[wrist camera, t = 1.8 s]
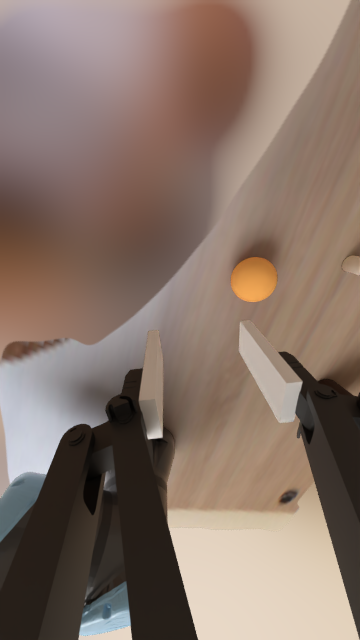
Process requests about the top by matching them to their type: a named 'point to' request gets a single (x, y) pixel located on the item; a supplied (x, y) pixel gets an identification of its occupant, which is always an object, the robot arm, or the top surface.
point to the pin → (352, 264)
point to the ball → (254, 279)
